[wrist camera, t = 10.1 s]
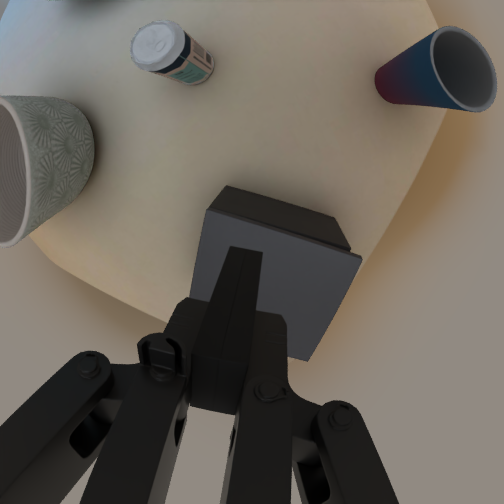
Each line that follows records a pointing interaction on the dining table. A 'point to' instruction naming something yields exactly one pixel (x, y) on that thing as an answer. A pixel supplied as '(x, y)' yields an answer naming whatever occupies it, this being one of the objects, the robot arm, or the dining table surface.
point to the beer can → (170, 53)
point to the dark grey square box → (281, 216)
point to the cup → (441, 73)
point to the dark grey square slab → (279, 274)
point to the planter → (40, 161)
